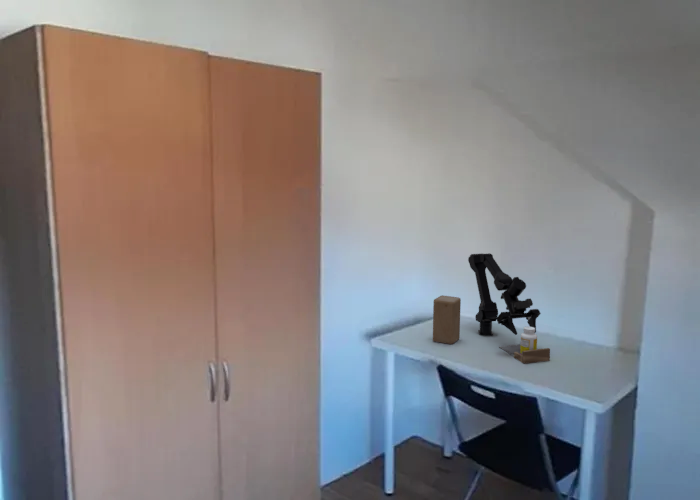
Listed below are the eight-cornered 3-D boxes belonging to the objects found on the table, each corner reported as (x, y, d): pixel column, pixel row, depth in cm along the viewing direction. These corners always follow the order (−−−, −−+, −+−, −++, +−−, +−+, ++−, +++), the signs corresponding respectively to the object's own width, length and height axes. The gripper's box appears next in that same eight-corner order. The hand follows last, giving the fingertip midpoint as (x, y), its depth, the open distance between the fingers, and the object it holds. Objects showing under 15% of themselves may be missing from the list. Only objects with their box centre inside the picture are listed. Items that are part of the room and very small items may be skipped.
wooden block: (452, 345, 270) (453, 302, 266) (431, 341, 275) (432, 299, 271) (460, 339, 278) (461, 297, 275) (439, 335, 283) (440, 294, 280)
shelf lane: (514, 357, 253) (514, 346, 252) (539, 354, 257) (539, 343, 256) (523, 363, 246) (524, 351, 245) (549, 360, 250) (550, 348, 249)
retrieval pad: (499, 347, 266) (499, 346, 266) (518, 345, 269) (518, 344, 269) (511, 354, 257) (511, 353, 256) (532, 352, 260) (532, 351, 259)
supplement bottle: (533, 354, 257) (535, 325, 255) (538, 359, 251) (539, 330, 248) (518, 354, 257) (519, 325, 255) (522, 359, 251) (523, 330, 248)
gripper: (501, 293, 254) (514, 326, 245) (539, 290, 260) (553, 322, 251) (490, 307, 263) (503, 339, 254) (527, 304, 268) (541, 334, 260)
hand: (525, 333), depth 254 cm, fingers open, 9 cm apart
